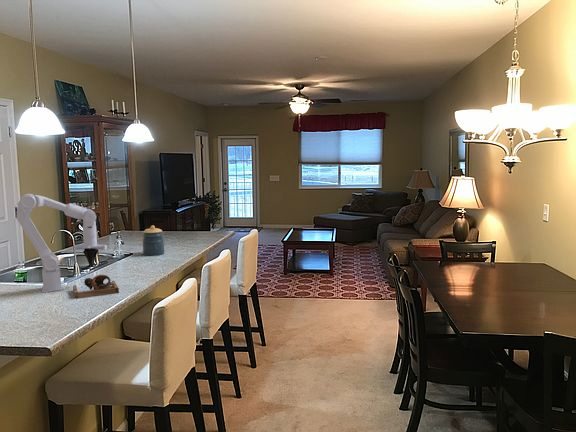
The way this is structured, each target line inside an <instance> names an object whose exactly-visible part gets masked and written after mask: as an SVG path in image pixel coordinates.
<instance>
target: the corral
mask: <svg viewBox="0 0 576 432" xmlns="http://www.w3.org/2000/svg"><path fill="white" fill-rule="evenodd" d="M111 283H112V285H111V286H112V288H111V287H109V288H108V289H101V290H94V289H93V290H86V291H78V287H77V285H76V284H75V285H72V287H73V291H72V292H73V295H74V298H75V299H81V298H91V297H97V296H107V295H111V294H112V295H114V294H119V293H120V288H119V286H118V284H117V283H116V281H115V280H111Z"/></svg>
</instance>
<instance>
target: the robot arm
mask: <svg viewBox="0 0 576 432" xmlns="http://www.w3.org/2000/svg"><path fill="white" fill-rule="evenodd" d="M36 205H37V207H39V208H40V207H49V208H51V209H54V210H58V211H62V212H64V213H63V214H64V215H65V216H66V217H67V216H68V217H71V218H74V219H77V220H82V235H83V244H74V250H75V251H76V250H83V251H82V253H83V255H84V256H85V257H86V260H87V262H88V265H89V266H93V265H95V261H96V257H97V254H98V252H99V251H101V250H103V251H106V250H107V249H108V245H107V244H99V243H98V233H97V225H96V223H97V214H96V213H95V211H94V210H92V209H91V208H88V207H86V206H85V207H83V206H80V205H78V204H77V203H76V202H73V203H71V202H70V203H67V204H65V203H63V202H60V201H57V200H54V199H51V198H49V197H48V196H47V197H46V196H43V195H39V194H33V193H25V194H23V195H22V196H21V198H20V199H19V201H18V202H17V211H16V220H17V222H18V223H19V225H20V226H21V228H22V230H23V232H24V233H25V235H26V236H27V238H28V239H29V242H30V243H31V244H32V246H33V247H34V249H35V250H36V253H38V256H39V258H40V260H41V264H42V265H41V266H42V269H41V273H42V274H41V275H42V288H41V289H42V293H49V292H55V291H58V292H59V291H62V290H63V285H62V280H61V267H59V257H58V256H57V255H56V254H54V252H53V251H52V250H51V249H50V248H49V246H48V245H47V242H46V241H45V240H44V238H43V237H42V235H41V233H40V232H39V230H38V228H37V227H36V226H35V224H34V222H33V220H32V219H31V214H32V210H33V209H34V208H35V207H36Z"/></svg>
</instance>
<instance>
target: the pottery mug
mask: <svg viewBox="0 0 576 432" xmlns="http://www.w3.org/2000/svg"><path fill="white" fill-rule="evenodd" d="M105 280H108V281H107V282H106V283H105V282H104V281H105ZM83 283H84V285H85V286H86V287H88V288H89V291H92V289H93V290H101V289H109V288H111V286H112V280H111V278H110V277H109V276H108V275H106V274H98V275H95V276H94V277H93V278H91V277H87V278H85V279H84V281H83Z"/></svg>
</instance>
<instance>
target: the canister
mask: <svg viewBox="0 0 576 432" xmlns="http://www.w3.org/2000/svg"><path fill="white" fill-rule="evenodd" d="M164 235H165V234H164V233H163V230H162V229H160V228H157V227H155V225H151V226H150V227H149V228H146V229H144V230H143V234H142V235H141V237H142V254H143V256H147V257H148V256H149V257H151V256H153V257H155V256H162V255H164V254H165V250H166V249H165V239H164Z"/></svg>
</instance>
